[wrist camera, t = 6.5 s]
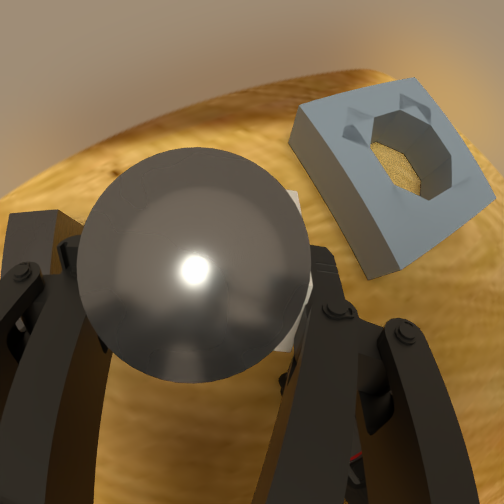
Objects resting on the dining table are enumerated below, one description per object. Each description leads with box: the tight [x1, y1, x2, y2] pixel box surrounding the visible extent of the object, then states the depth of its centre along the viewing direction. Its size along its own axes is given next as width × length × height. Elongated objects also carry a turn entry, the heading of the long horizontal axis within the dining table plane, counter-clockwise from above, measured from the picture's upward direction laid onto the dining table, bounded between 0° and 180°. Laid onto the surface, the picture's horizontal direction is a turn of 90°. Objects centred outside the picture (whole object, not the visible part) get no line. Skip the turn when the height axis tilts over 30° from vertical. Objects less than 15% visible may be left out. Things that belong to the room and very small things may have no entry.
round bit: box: [77, 147, 311, 383], centre depth 11 cm, size 4×4×12 cm
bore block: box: [288, 77, 496, 280], centre depth 17 cm, size 10×10×4 cm
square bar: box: [1, 210, 84, 330], centre depth 14 cm, size 10×4×4 cm, turn 0°
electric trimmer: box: [279, 372, 369, 504], centre depth 13 cm, size 4×16×3 cm, turn 27°
